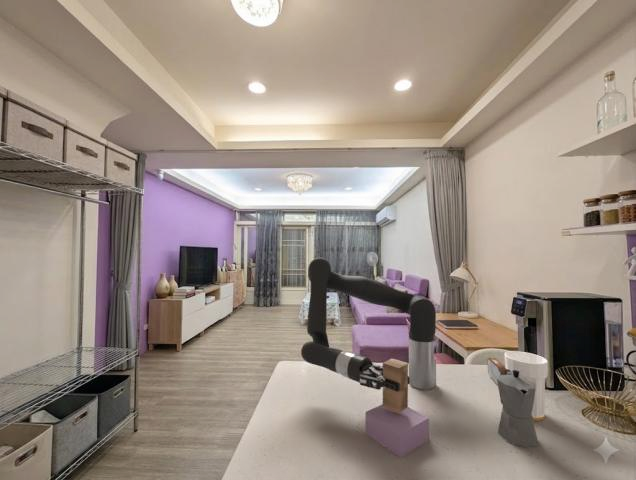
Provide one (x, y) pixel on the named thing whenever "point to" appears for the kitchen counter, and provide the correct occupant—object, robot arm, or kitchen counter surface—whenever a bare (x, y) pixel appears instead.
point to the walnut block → (399, 374)
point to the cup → (530, 376)
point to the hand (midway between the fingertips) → (404, 384)
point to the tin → (495, 368)
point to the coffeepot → (517, 409)
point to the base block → (397, 429)
